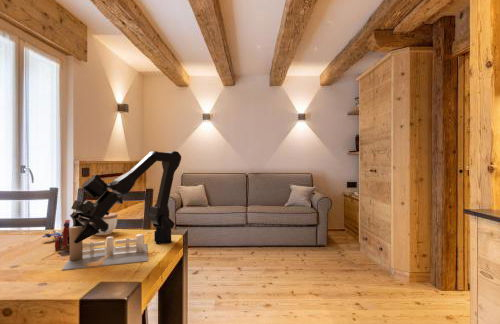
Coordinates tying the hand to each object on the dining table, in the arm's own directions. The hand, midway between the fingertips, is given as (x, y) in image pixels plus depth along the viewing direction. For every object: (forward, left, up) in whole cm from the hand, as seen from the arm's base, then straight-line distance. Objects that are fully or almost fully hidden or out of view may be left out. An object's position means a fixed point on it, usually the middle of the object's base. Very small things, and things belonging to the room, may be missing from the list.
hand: (71, 241), depth 108 cm
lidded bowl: (-6, -44, -7) cm, 45 cm away
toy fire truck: (+6, -23, -7) cm, 25 cm away
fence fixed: (-17, -4, -7) cm, 19 cm away
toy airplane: (+12, -39, -7) cm, 41 cm away
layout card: (-12, -3, -7) cm, 14 cm away
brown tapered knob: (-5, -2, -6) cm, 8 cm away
